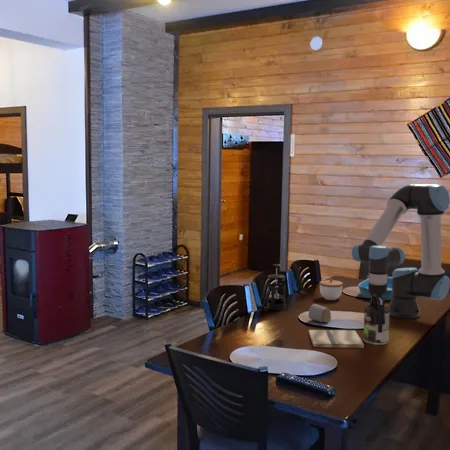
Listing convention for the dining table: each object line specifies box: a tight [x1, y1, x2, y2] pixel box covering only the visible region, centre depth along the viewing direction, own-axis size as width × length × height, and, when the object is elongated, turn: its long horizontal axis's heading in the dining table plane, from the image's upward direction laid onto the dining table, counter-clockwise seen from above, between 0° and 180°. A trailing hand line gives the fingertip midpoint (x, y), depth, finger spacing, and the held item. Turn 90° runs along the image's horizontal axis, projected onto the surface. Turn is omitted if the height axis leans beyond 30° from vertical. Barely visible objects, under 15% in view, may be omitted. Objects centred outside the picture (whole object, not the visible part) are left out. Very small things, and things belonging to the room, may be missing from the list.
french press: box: [266, 263, 286, 311], centre depth 270 cm, size 12×9×23 cm
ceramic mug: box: [308, 303, 332, 323], centre depth 247 cm, size 11×8×8 cm
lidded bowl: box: [319, 278, 343, 301], centre depth 290 cm, size 13×13×11 cm
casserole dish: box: [358, 276, 392, 301], centre depth 300 cm, size 37×22×7 cm, turn 148°
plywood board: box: [308, 329, 365, 349], centre depth 219 cm, size 20×18×2 cm
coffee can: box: [362, 304, 390, 346], centre depth 217 cm, size 10×10×14 cm
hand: (376, 335), depth 218 cm, fingers closed on coffee can, 10 cm apart
